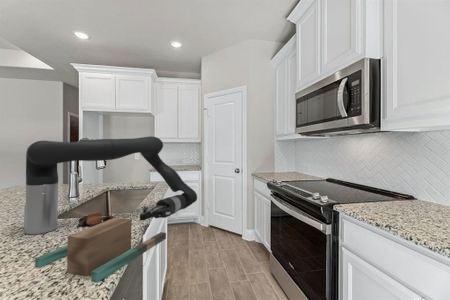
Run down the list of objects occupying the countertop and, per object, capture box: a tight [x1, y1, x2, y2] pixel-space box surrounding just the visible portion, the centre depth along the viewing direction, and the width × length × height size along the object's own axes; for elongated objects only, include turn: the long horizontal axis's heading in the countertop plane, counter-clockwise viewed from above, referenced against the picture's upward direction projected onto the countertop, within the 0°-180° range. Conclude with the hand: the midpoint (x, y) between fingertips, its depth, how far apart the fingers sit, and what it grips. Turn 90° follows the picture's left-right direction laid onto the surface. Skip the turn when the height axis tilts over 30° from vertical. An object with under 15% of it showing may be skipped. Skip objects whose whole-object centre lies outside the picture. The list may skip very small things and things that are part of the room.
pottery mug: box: [76, 212, 115, 229], centre depth 81 cm, size 12×9×8 cm
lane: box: [34, 231, 167, 283], centre depth 66 cm, size 21×27×2 cm
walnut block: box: [66, 217, 133, 277], centre depth 61 cm, size 6×16×9 cm, turn 166°
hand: (141, 217), depth 79 cm, fingers closed
